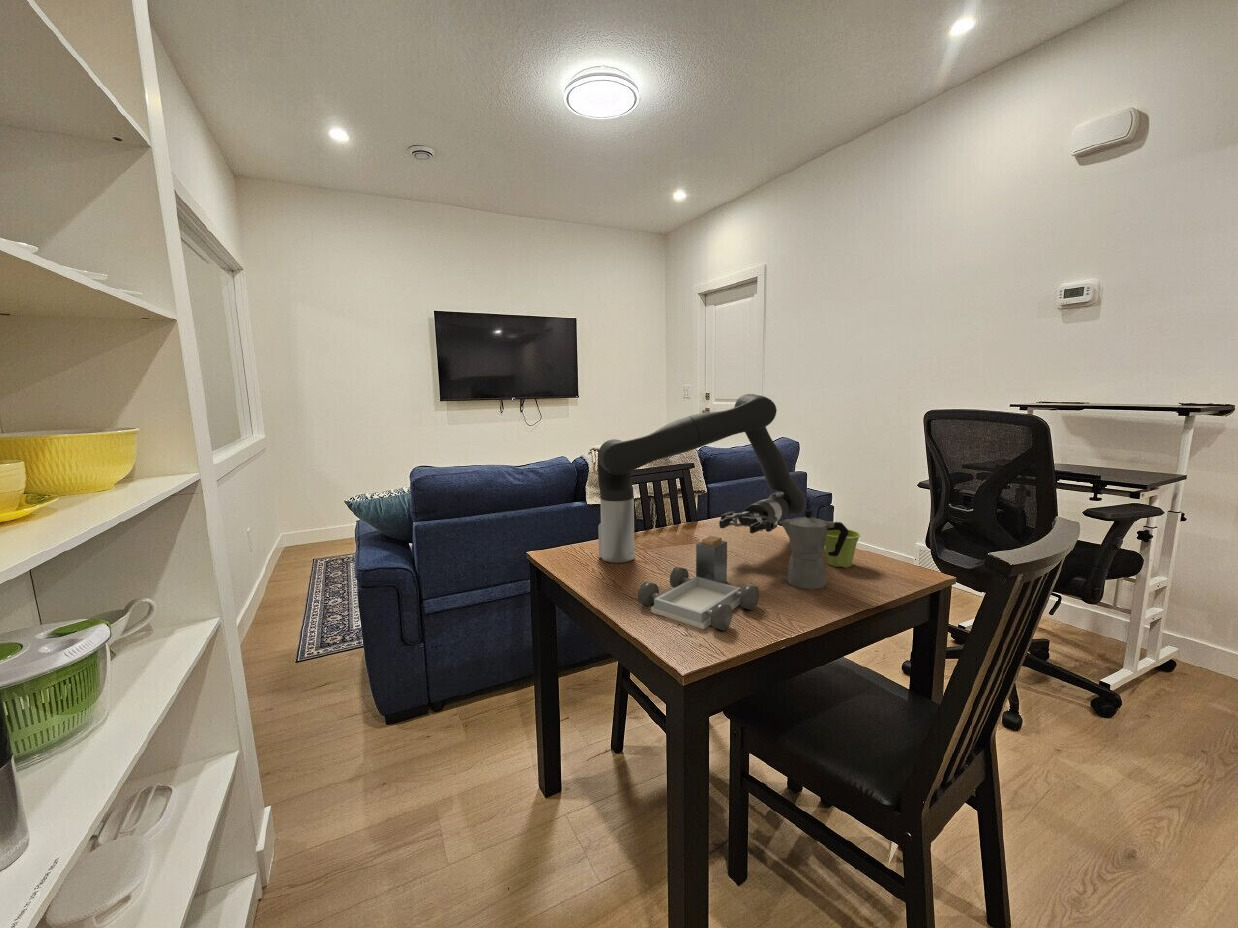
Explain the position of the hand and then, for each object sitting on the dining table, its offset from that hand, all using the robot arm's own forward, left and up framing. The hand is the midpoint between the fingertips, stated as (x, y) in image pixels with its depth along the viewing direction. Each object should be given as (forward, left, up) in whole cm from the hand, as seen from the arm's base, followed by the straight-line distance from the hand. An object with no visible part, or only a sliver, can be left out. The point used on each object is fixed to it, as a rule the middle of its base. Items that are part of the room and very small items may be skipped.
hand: (735, 527), depth 132 cm
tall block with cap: (0, -12, -11) cm, 16 cm away
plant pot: (+20, +20, -12) cm, 31 cm away
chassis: (+5, -26, -11) cm, 29 cm away
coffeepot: (+19, +2, -12) cm, 22 cm away
